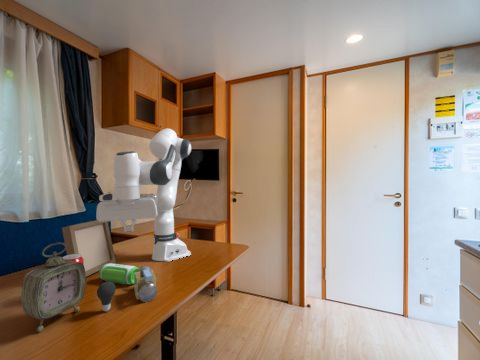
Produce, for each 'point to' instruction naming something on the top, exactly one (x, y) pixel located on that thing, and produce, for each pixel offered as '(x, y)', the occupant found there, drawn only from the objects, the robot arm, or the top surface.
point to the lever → (146, 273)
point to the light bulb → (106, 294)
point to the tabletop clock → (53, 287)
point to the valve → (145, 287)
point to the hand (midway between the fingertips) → (129, 231)
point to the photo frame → (90, 244)
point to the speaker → (118, 273)
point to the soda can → (74, 258)
